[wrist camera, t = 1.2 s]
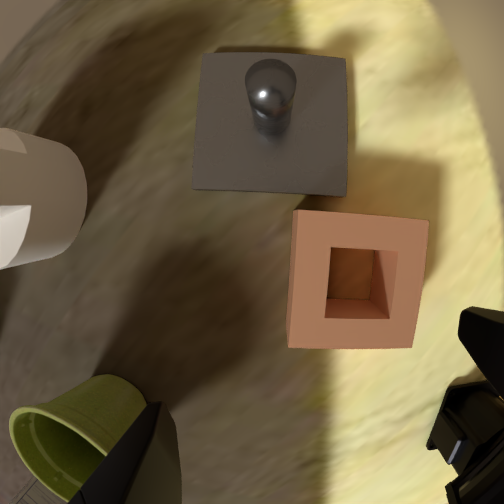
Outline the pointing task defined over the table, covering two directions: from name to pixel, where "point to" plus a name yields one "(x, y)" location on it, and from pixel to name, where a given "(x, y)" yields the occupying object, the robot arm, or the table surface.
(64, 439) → the plant pot
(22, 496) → the medicine box
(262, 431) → the table surface
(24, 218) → the cylinder with rectangular tab
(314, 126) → the grey base with peg
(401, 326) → the collar
